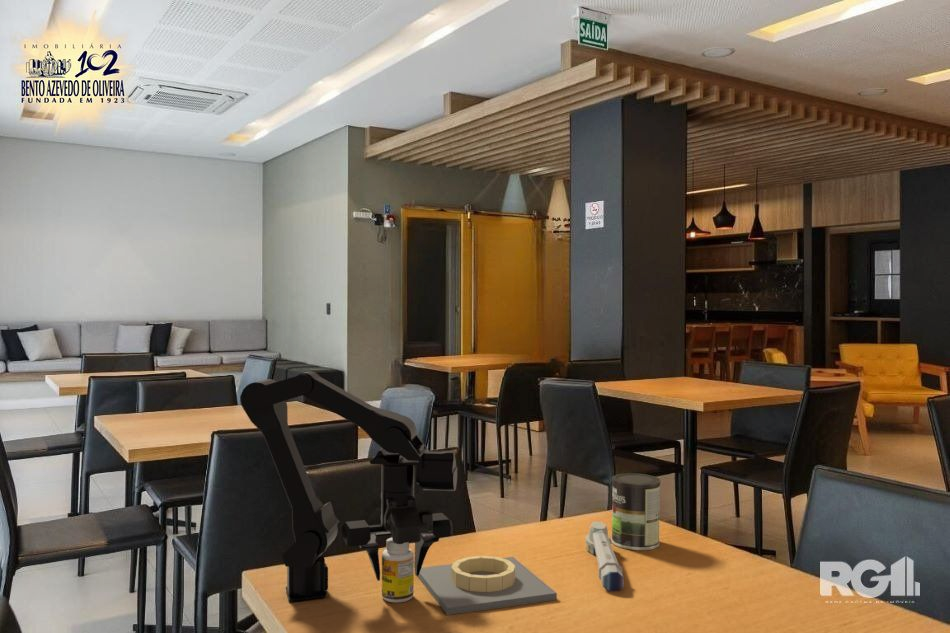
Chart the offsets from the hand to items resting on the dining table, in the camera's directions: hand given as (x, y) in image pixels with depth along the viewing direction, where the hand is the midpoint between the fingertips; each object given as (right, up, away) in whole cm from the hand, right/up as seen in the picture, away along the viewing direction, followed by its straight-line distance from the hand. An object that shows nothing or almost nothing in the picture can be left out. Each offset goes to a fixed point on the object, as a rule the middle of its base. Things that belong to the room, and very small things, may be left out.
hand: (397, 577), depth 132 cm
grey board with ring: (+15, -4, +5) cm, 16 cm away
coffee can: (+48, -4, +31) cm, 58 cm away
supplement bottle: (0, -4, 0) cm, 4 cm away
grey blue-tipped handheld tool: (+39, -4, +16) cm, 42 cm away
